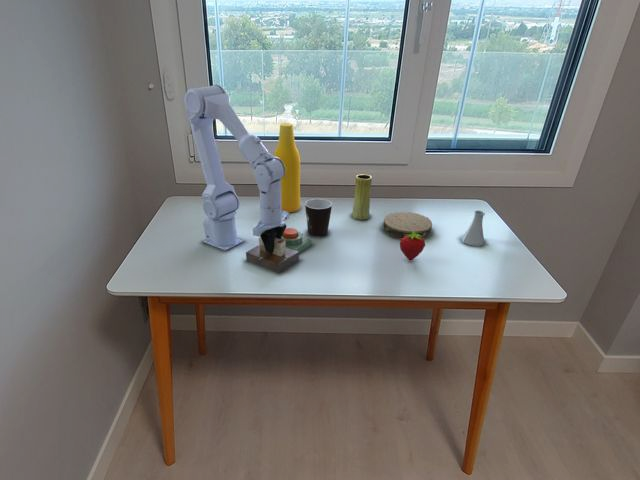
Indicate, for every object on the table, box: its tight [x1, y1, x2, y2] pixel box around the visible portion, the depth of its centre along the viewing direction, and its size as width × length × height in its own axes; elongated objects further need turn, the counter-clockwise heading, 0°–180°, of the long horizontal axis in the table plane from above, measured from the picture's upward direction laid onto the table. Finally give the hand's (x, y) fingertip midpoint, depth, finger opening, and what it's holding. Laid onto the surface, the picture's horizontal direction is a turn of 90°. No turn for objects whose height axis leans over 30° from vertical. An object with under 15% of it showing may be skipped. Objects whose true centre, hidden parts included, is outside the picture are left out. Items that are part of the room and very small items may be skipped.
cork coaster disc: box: [382, 211, 433, 240], centre depth 150 cm, size 16×16×3 cm
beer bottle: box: [273, 122, 301, 213], centre depth 156 cm, size 9×9×29 cm
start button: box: [283, 227, 298, 239], centre depth 137 cm, size 4×4×2 cm
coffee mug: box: [304, 198, 333, 238], centre depth 146 cm, size 12×9×10 cm
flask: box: [461, 210, 486, 247], centre depth 142 cm, size 7×7×10 cm
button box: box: [281, 230, 312, 253], centre depth 138 cm, size 10×8×4 cm
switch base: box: [245, 244, 300, 275], centre depth 130 cm, size 12×12×3 cm
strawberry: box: [399, 229, 426, 262], centre depth 131 cm, size 6×8×10 cm
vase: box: [351, 173, 373, 220], centre depth 155 cm, size 6×6×14 cm
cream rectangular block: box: [258, 237, 286, 256], centre depth 128 cm, size 8×2×4 cm, turn 60°
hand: (272, 249), depth 129 cm, fingers closed on cream rectangular block, 2 cm apart
